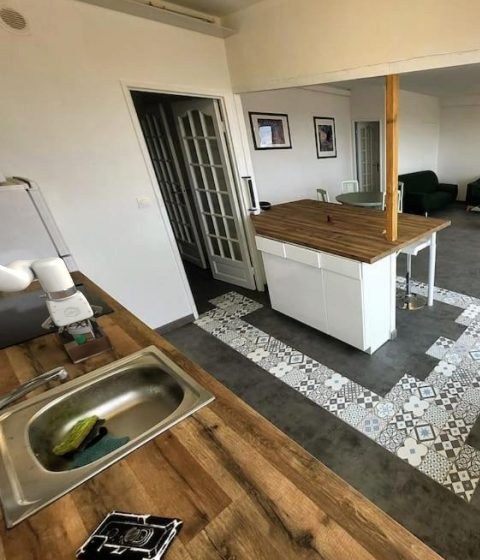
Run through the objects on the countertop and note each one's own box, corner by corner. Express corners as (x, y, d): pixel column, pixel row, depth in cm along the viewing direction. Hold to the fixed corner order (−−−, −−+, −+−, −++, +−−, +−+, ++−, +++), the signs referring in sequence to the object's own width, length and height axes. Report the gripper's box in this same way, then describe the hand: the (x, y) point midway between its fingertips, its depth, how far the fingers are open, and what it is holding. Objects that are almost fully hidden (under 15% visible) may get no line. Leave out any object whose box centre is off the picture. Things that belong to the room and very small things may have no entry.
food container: (75, 341, 120) (64, 319, 115) (96, 335, 124) (86, 313, 119) (76, 356, 112) (65, 333, 107) (99, 349, 116) (88, 326, 111)
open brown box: (74, 363, 109) (67, 350, 107) (63, 345, 119) (57, 332, 116) (113, 348, 117) (107, 336, 115) (100, 332, 127) (95, 320, 124)
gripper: (27, 305, 100) (51, 349, 107) (96, 286, 112) (114, 327, 120) (23, 298, 104) (47, 341, 111) (91, 281, 116) (108, 321, 124)
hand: (82, 334), depth 116 cm, fingers open, 7 cm apart
